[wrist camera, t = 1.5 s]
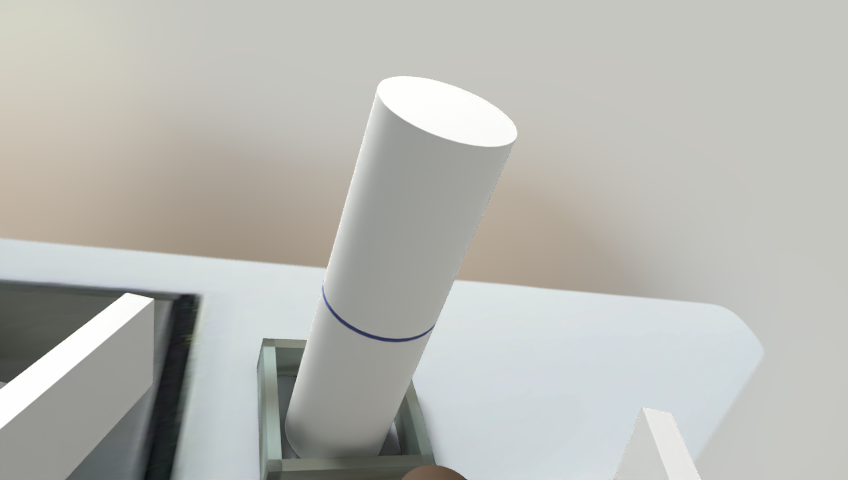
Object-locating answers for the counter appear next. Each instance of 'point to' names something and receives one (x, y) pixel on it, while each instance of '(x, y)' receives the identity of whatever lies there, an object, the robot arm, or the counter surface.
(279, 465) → the holder stand
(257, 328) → the counter surface
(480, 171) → the cylindrical container
